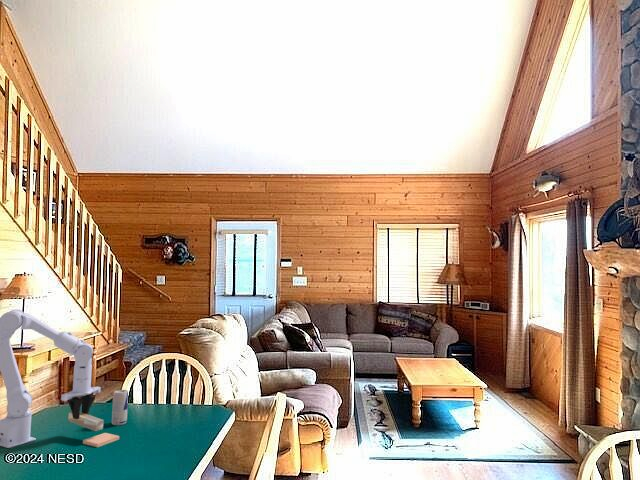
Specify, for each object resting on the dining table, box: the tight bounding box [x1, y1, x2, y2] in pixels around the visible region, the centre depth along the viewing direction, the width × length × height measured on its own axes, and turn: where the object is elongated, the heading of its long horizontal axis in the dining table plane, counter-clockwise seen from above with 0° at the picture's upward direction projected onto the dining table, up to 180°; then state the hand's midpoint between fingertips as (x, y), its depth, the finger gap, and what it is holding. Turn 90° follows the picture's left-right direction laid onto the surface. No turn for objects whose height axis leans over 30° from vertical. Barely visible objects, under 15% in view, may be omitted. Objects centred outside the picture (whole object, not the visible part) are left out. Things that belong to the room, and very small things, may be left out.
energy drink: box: [111, 389, 129, 426], centre depth 189 cm, size 5×5×12 cm
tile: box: [82, 432, 120, 448], centre depth 169 cm, size 9×2×7 cm
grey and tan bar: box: [67, 411, 105, 432], centre depth 172 cm, size 3×14×3 cm, turn 64°
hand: (80, 417), depth 174 cm, fingers closed on grey and tan bar, 3 cm apart
